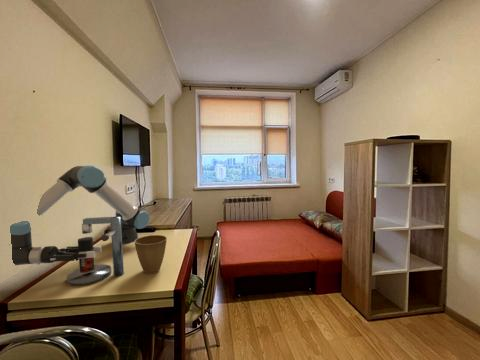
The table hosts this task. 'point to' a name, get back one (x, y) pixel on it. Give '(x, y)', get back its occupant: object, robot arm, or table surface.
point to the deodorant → (86, 246)
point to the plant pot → (151, 252)
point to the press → (101, 269)
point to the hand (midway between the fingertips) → (97, 251)
